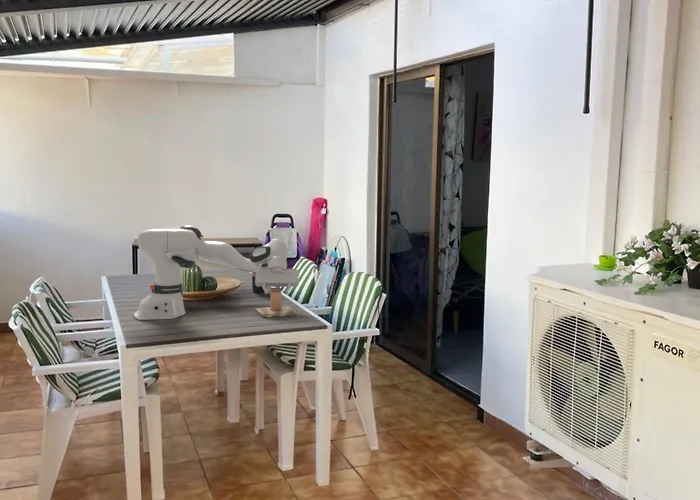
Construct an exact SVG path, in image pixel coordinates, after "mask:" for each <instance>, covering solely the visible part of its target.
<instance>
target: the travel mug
mask: <svg viewBox="0 0 700 500" xmlns="http://www.w3.org/2000/svg"><path fill="white" fill-rule="evenodd" d="M255 278H256V273H252V272H251V283H252V285H251V286H252V292H253V294H254V293H256V294H262V293H264V294H265V291H264V289H263V286H256V285H255Z"/></svg>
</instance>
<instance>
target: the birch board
mask: <svg viewBox="0 0 700 500" xmlns="http://www.w3.org/2000/svg"><path fill="white" fill-rule="evenodd" d="M255 312H256V313H257V314H258V315H259V316H260V315H261V316H260V317H262V318H263V317H267V318H273V317H272V316H278V317H284V316H283V315H290V316H296V315H295V314H297V315H298V311H297V310H296V309H294V308H292V307H291V306H290V305H281V310H280V311H271V306H268V307H267V306H266V307H256V308H255Z"/></svg>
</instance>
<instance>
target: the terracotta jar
mask: <svg viewBox="0 0 700 500" xmlns="http://www.w3.org/2000/svg"><path fill="white" fill-rule="evenodd" d="M269 289H270V290H269V292H270V307H271V311H280V310H281V306H282V288H281V287H271V288H269Z"/></svg>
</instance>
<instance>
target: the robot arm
mask: <svg viewBox="0 0 700 500" xmlns="http://www.w3.org/2000/svg"><path fill="white" fill-rule="evenodd" d="M202 238H204V235H203V234H202V232H201V231H200V229H199V228H197V227H196V226H194V225H190V224H187V225H182V226H180V227H179V228H151V229H146V230H142V231H141V232H140V233H139V235H138V236H137V242H136V243H137V246H138V248H139V250H140V251H141V252H143V254H145V255H146V256H147V257H148V258H149V259H150V261H151V262H152V264H153V266H154V273H155V274H154V275H155V283H150V284H149V289H150V290H151V292H150V293H149V294H148V295H147V296H145V297H144V298H143V299H141V300H140V302H139V305H138V306H139V307H138V310H137V311H135V312H134V313H133V317H134V319H136V320H138V321H139V320H140V321H145V320H146V321H147V320H172V319H176V318H178V317H181V316H184V315H186V313H187V312H186V309H185V306H184V299H183V293H184V290H183V288H184V287H183V282H182V270H186V271H187V270H190V269H192V268H194V267H195V264H196V259H197V257H198V258H199V259H200V260H202V261H204V262H206V263H207V262H208V263H212V264H217V265H223V266H227V267H230V268H234V269H237V270H240V271H243V272H249V273H251V274H252V273H256V278H255V285H256V286H263V289H264V291H265V292H264V295H265V294H266V295H268V294H269V289H268V288H267V287H271V288H281V287H283V288H284V287H286V288H285V289H284V291H285V292H284V293H285V295H289V291H291V289H292V287H293V288H295V287H298V286H299V277H300V270H299V269H297V268H288V262H287V258H288V247H287V244H286V241H284V240H283V239H280V238H274V239H272V240H270V241H269V242H268V243H267V244H265V245H262V246H257V247H254V248H253V249H252V250H251V252H250V253H249V258H246V257H245V256H243V255H242V254H241V253H240V252H238V250H237V249H236V248H234V246H232V245H231V244H229V243H228V242H227V243H226V242H224V241H217V240H204V239H202ZM167 256H171V257H170V259H169V258H168V257H167Z"/></svg>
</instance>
